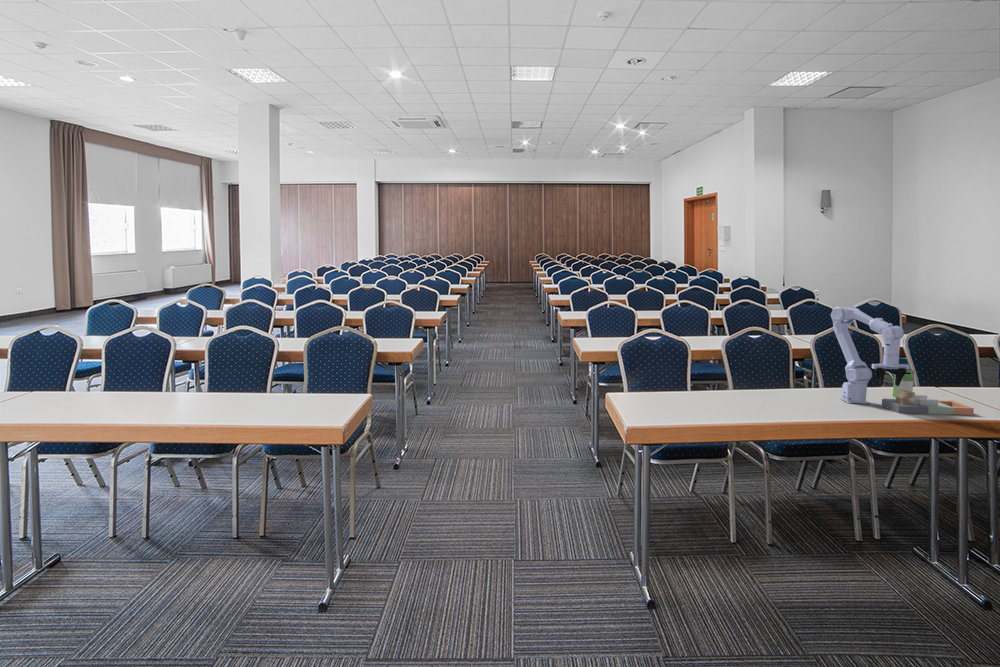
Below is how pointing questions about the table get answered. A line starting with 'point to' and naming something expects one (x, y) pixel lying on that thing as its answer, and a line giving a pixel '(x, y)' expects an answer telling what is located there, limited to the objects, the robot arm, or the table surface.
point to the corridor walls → (925, 401)
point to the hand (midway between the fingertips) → (889, 385)
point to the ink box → (905, 383)
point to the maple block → (905, 397)
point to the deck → (929, 407)
